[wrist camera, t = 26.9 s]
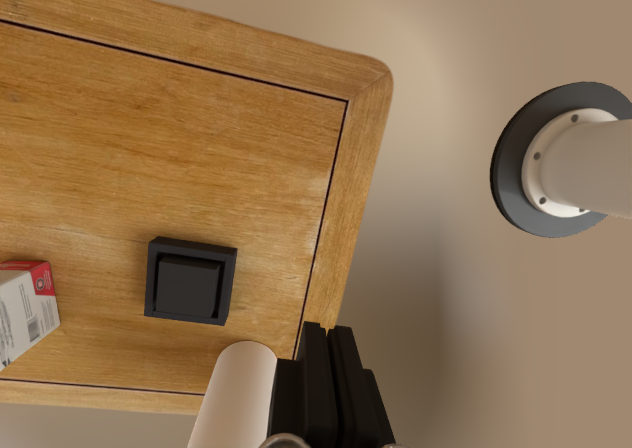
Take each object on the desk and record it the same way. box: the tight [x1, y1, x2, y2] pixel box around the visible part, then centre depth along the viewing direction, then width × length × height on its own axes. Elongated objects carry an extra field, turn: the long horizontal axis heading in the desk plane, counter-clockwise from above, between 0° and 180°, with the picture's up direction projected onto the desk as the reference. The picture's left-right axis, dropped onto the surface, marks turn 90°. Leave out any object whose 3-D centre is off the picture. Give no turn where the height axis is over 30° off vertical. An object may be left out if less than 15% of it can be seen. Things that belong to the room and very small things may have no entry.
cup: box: [187, 341, 277, 448], centre depth 32 cm, size 8×8×16 cm
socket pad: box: [144, 236, 238, 326], centre depth 35 cm, size 9×9×2 cm
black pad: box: [156, 253, 222, 318], centre depth 34 cm, size 6×6×3 cm
